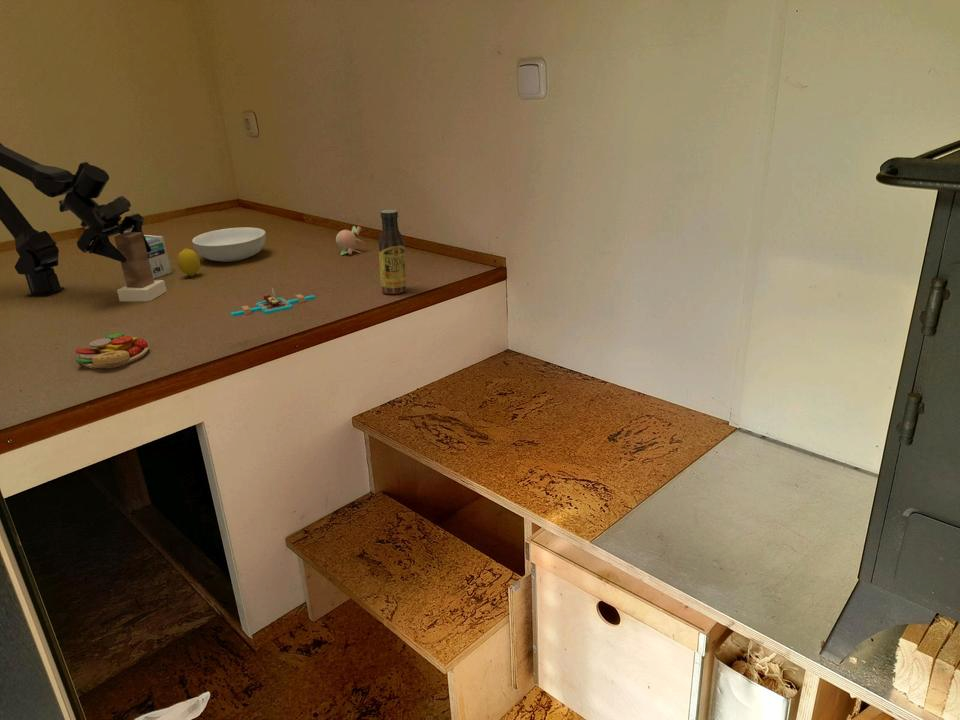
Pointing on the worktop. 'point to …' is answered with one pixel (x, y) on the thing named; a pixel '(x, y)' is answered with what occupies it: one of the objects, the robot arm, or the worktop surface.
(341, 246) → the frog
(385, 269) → the sauce bottle
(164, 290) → the cream plinth
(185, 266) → the lemon
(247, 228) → the serving bowl
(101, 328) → the worktop surface
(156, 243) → the light bulb box
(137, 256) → the walnut column
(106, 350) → the toy food set
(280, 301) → the multicoloured piece
